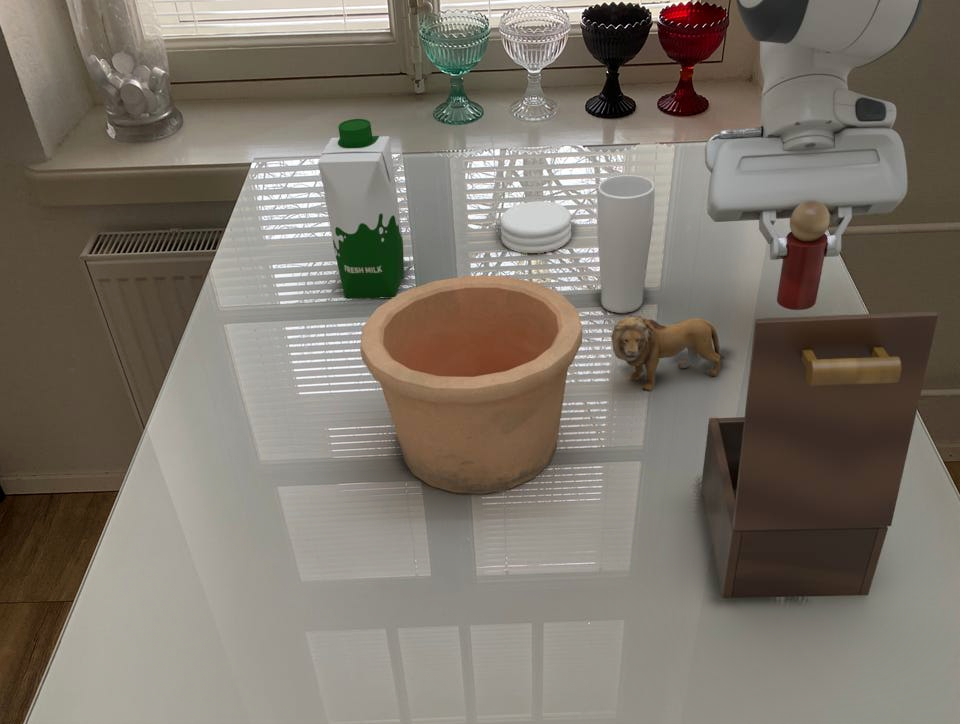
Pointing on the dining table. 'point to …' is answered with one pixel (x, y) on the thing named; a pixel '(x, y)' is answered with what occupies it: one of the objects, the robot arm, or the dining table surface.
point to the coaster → (536, 227)
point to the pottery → (474, 377)
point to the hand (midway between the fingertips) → (805, 256)
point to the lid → (830, 419)
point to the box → (778, 538)
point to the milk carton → (363, 211)
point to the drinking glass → (624, 239)
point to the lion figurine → (664, 344)
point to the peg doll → (804, 256)
